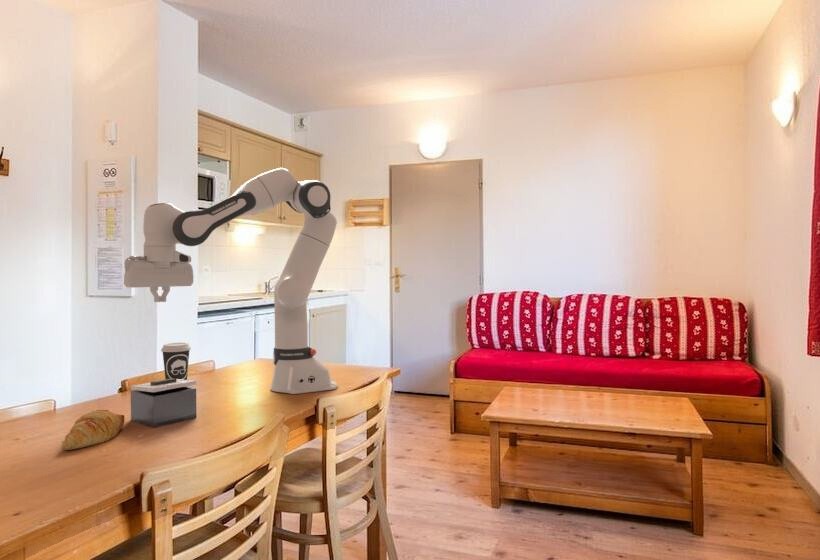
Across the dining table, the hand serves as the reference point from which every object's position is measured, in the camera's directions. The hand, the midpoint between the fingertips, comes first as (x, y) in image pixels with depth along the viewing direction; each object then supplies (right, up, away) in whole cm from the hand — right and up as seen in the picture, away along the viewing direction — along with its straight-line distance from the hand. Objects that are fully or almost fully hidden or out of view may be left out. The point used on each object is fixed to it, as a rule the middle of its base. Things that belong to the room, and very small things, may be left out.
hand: (160, 302), depth 161 cm
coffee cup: (-6, -31, +24) cm, 40 cm away
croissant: (0, -32, -33) cm, 46 cm away
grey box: (+9, -31, -16) cm, 36 cm away
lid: (+9, -23, -16) cm, 29 cm away
